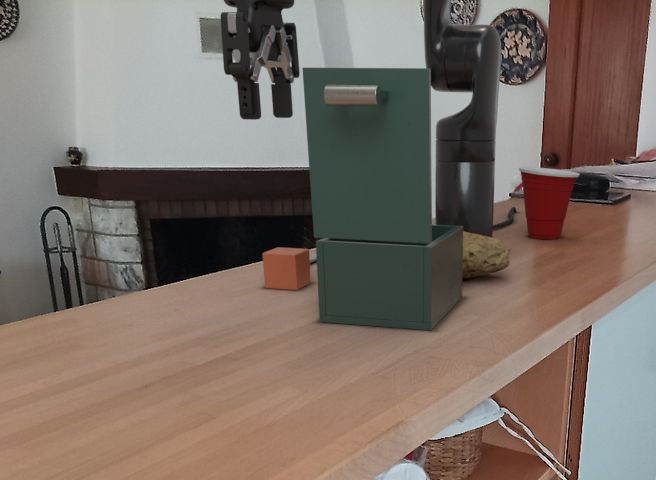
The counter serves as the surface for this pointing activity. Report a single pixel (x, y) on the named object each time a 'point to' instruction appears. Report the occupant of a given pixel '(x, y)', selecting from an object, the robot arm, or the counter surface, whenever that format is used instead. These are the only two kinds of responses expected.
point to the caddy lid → (370, 153)
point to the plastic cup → (546, 200)
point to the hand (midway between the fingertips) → (267, 118)
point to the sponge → (483, 255)
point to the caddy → (390, 280)
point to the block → (286, 268)
